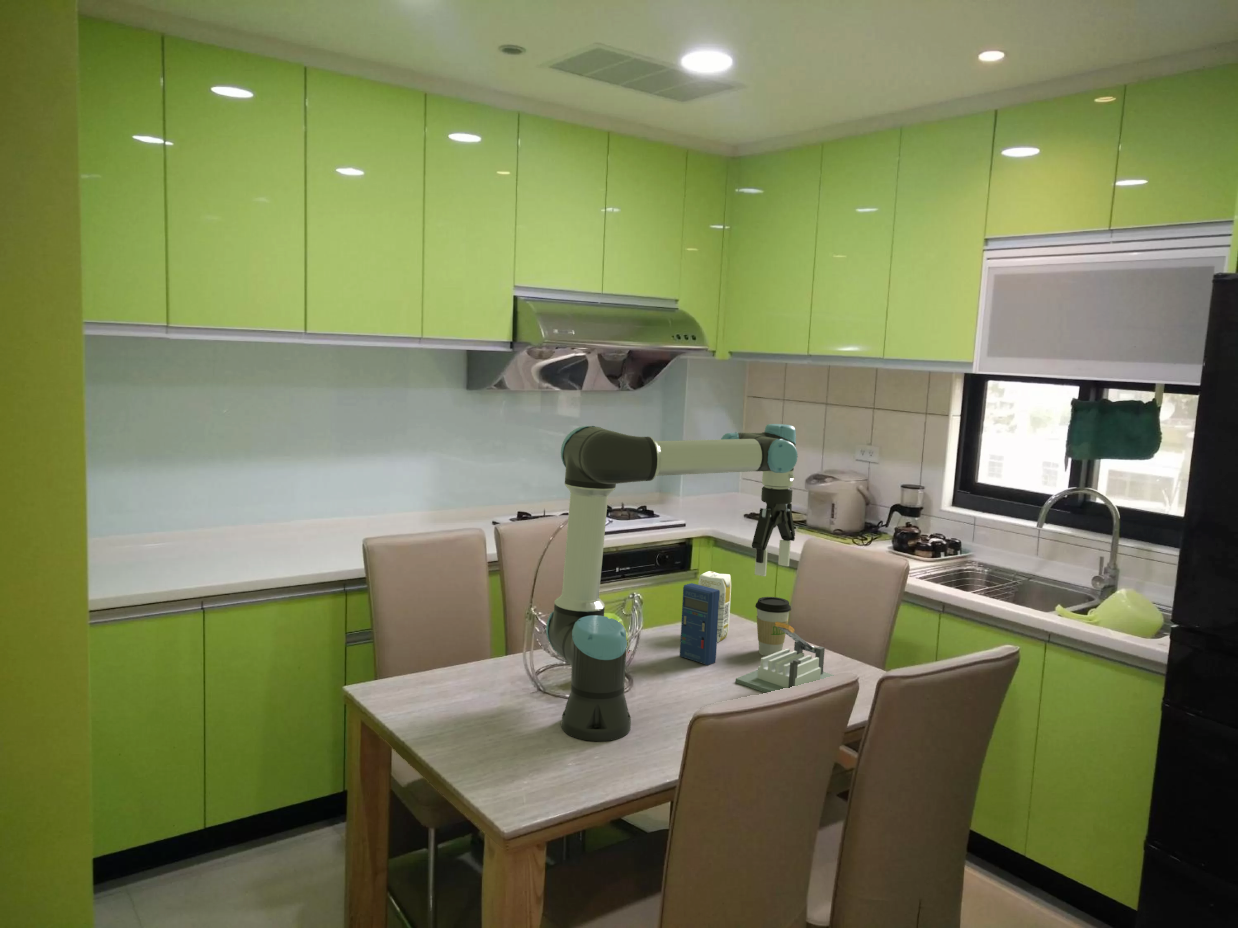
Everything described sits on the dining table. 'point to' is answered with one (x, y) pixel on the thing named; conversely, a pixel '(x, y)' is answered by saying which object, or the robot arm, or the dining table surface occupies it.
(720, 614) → the juice carton
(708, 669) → the dining table surface
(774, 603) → the coffee cup
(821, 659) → the heatsink base
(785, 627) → the lever
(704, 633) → the electronic device
